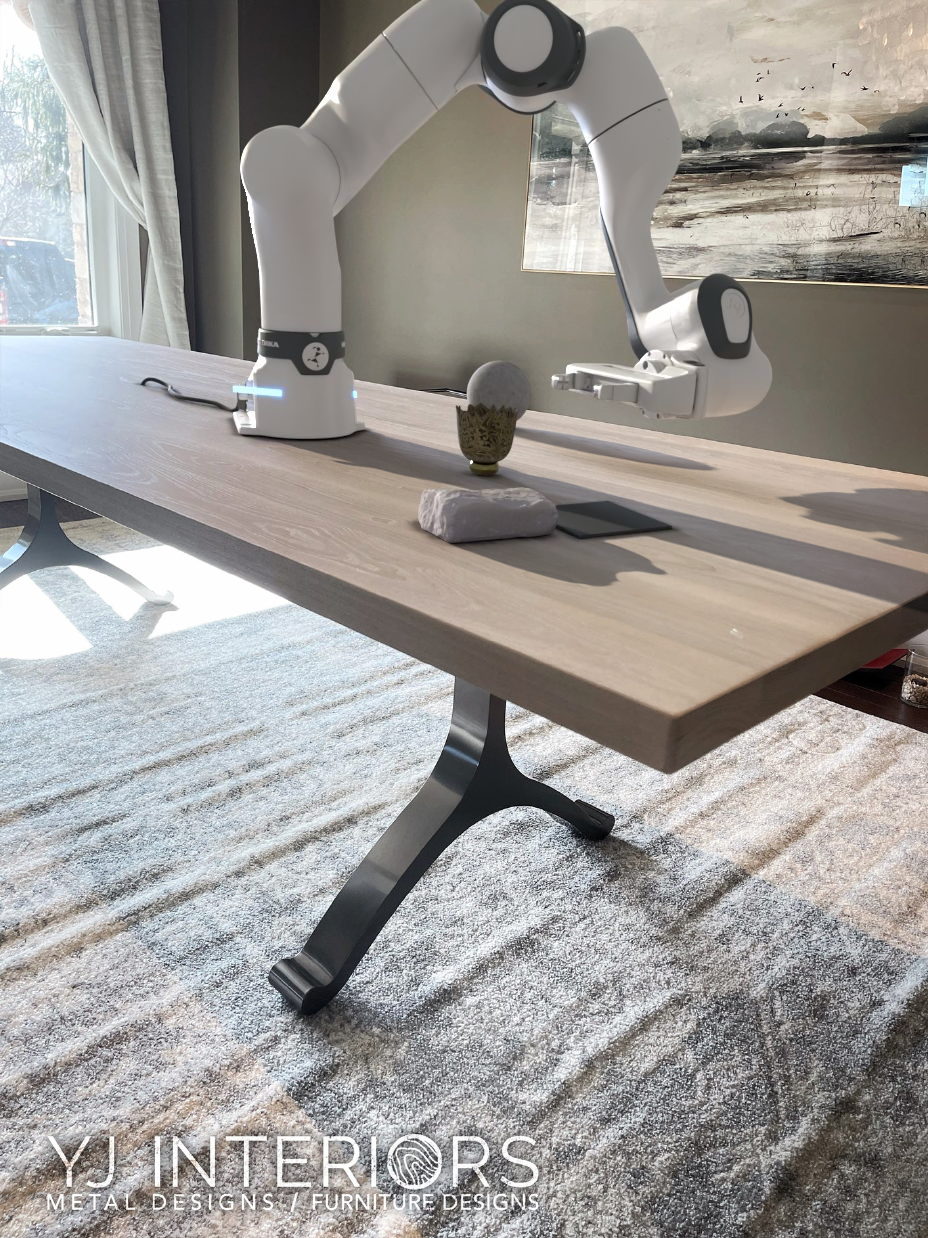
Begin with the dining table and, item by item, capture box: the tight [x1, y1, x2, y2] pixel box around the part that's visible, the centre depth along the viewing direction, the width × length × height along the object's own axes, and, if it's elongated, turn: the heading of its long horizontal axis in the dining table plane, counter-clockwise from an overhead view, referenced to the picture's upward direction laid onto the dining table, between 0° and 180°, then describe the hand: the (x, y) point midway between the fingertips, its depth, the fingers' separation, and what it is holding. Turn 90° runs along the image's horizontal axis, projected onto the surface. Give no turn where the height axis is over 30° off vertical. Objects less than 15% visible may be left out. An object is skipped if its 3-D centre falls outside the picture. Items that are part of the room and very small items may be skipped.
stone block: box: [417, 486, 558, 544], centre depth 91 cm, size 12×5×10 cm
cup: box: [455, 403, 519, 477], centre depth 114 cm, size 8×7×8 cm
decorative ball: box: [466, 360, 532, 421], centre depth 148 cm, size 10×10×10 cm
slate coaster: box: [554, 500, 673, 539], centre depth 97 cm, size 11×11×1 cm
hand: (575, 386), depth 117 cm, fingers open, 8 cm apart
